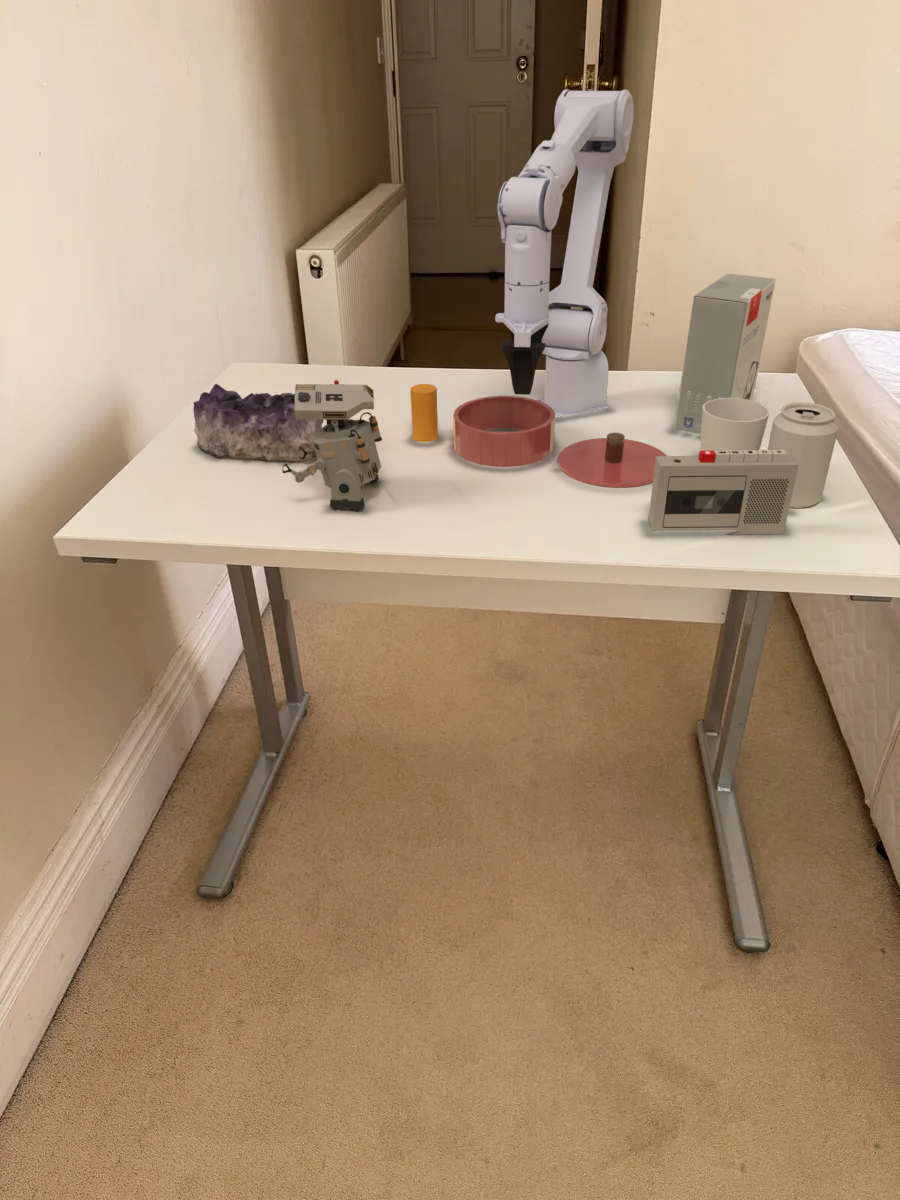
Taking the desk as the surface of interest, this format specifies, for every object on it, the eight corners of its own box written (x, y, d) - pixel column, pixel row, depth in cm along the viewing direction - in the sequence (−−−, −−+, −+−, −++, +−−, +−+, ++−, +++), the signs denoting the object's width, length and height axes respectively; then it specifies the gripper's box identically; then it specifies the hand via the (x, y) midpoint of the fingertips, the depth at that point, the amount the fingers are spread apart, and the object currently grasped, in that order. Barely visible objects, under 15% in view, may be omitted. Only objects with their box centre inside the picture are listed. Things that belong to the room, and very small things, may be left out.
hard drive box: (723, 442, 125) (746, 302, 114) (672, 432, 129) (690, 295, 118) (752, 407, 136) (776, 276, 125) (705, 399, 140) (724, 271, 129)
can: (819, 490, 112) (841, 402, 105) (820, 516, 106) (843, 424, 99) (759, 483, 114) (776, 396, 107) (757, 508, 108) (774, 418, 102)
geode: (182, 467, 122) (169, 396, 118) (211, 444, 133) (200, 379, 128) (321, 465, 120) (313, 393, 116) (339, 442, 130) (333, 375, 126)
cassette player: (651, 534, 103) (661, 458, 98) (647, 524, 106) (656, 448, 100) (783, 533, 103) (800, 456, 97) (776, 523, 105) (793, 446, 99)
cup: (759, 473, 117) (773, 402, 111) (750, 498, 110) (764, 425, 105) (699, 463, 119) (709, 394, 114) (686, 488, 113) (697, 416, 108)
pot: (525, 423, 133) (526, 389, 130) (571, 458, 122) (573, 422, 119) (439, 439, 128) (438, 405, 125) (479, 478, 117) (478, 441, 114)
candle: (432, 433, 130) (430, 382, 126) (442, 442, 128) (440, 390, 123) (409, 437, 129) (406, 386, 125) (418, 447, 126) (415, 394, 122)
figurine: (308, 477, 118) (295, 371, 110) (389, 482, 117) (382, 374, 108) (287, 508, 111) (271, 396, 103) (373, 513, 109) (364, 400, 101)
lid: (629, 437, 127) (632, 408, 125) (691, 478, 116) (696, 446, 113) (538, 456, 123) (539, 425, 120) (593, 500, 111) (596, 467, 108)
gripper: (500, 267, 117) (499, 365, 124) (490, 295, 105) (490, 402, 112) (553, 267, 116) (548, 366, 123) (548, 295, 104) (544, 403, 111)
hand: (524, 383), depth 118 cm, fingers open, 7 cm apart
